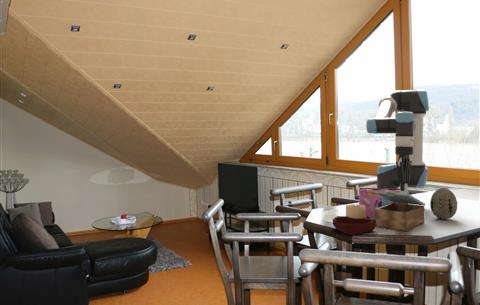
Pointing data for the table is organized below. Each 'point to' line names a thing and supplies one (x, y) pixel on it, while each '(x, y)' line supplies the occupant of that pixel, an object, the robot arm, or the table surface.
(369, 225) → the dark red bean shape
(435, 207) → the decorative egg
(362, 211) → the beige rounded cone
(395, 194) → the lid
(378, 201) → the gum box
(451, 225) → the table surface
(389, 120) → the robot arm
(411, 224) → the chest
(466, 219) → the table surface
